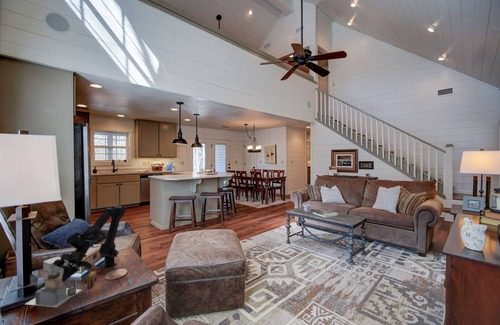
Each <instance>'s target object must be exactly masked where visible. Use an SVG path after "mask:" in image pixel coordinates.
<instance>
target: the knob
mask: <svg viewBox="0 0 500 325" xmlns="http://www.w3.org/2000/svg"><path fill="white" fill-rule="evenodd" d="M61 286H63V282H62V275H59V272H55V273H51V274H49V275H48V277H47V278H45V283H44V287H45V289H54V291H55V290H56V289H58V288H60V287H61Z"/></svg>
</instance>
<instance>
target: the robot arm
mask: <svg viewBox="0 0 500 325" xmlns="http://www.w3.org/2000/svg"><path fill="white" fill-rule="evenodd" d="M125 213H126V207H125V206H120V205H119V206H117V205H114V206H112V207H107V208H104V210H103V212H102V214H101V215H100V216H99V218H97V220H96V221H95V223H94V224H93V225H91V226H89V227H88V228H86V229H85V230H84V231H83V233H80V232H74V234H72V235H70V236H69V237H67V239H66V244H67V245H69V246H70V247H72V248H73V249H75V250H73V251H71V252H70V253H62V254H61V256H60V257H61V259H57V260H55V261H54V263H53V265H55V266H58V267H60V268H63V270H64V271H63V276H62V283H65V282H66V281H68V279H70V278H71V277H72V276H73V275H75V274H76V273H77V272H80V271H81V268H84V270H85V271H87V270H90V269H91V267H92V264H93V263H90V262H88V261H86V260H84V258H87V253H88V250H90V247H91V248H93V247H94V243H93V241H97V239H98V238H99V237H100V235H101V233H102V232H101V231H102V228H103V227H104V226H105V225H106V223H107V222H108V220H109V219H110V218H111V221H110V224H109V227H108V230H107V234H106V238H105V241H104V242H103V243H100V247H99V252H98V254H99V255H100V257H101V258H104V261H103V262H104V264H101V266H102V267H103V268H105V269H109V268H112V267H113V266H116V265H118V263H117V262H115V258H117V256H118V255H119V251H118V250H117V249H116V242H115V240H116V236H117V232H118V229H119V224H120V221H121V219H122V218H123V217H124V215H125Z"/></svg>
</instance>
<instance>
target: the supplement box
mask: <svg viewBox="0 0 500 325" xmlns="http://www.w3.org/2000/svg"><path fill="white" fill-rule="evenodd" d="M57 259H61V256H55V257H52V258H49V259H48V258H47V259H46V260H43V265H42V266H43V267H42V269H43V270H42V271H43V272H42V275H43V276H42V280H44V284H45V278H47V277H48V275H49V274H51V273H55V272H59V275H62V276H63V271H64V270H63V268H60V267H58V266H55V265H53V263H54V261H55V260H57Z"/></svg>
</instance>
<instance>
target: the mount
mask: <svg viewBox="0 0 500 325" xmlns="http://www.w3.org/2000/svg"><path fill="white" fill-rule="evenodd" d="M68 289H70V287H69V288H67V285H62V286H61V287H60V288H58V289H56V290H55V291H54V289H45V286H44V287H41V288H40V289H38V290H36V291H35V297H34V298H32V299H30V300H29V301H28V302H26V303H25V305H29V306H38V307H49V308H58V307H59V306H61V305H62V304H64V303H66V301H68V300H70V299H71V298H72V297H74V296H75V295H77V294H78V293H80V292H81V291H82V289H81V288H80V289H77V288H76V294H74V295H71V296H67V290H68Z"/></svg>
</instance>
